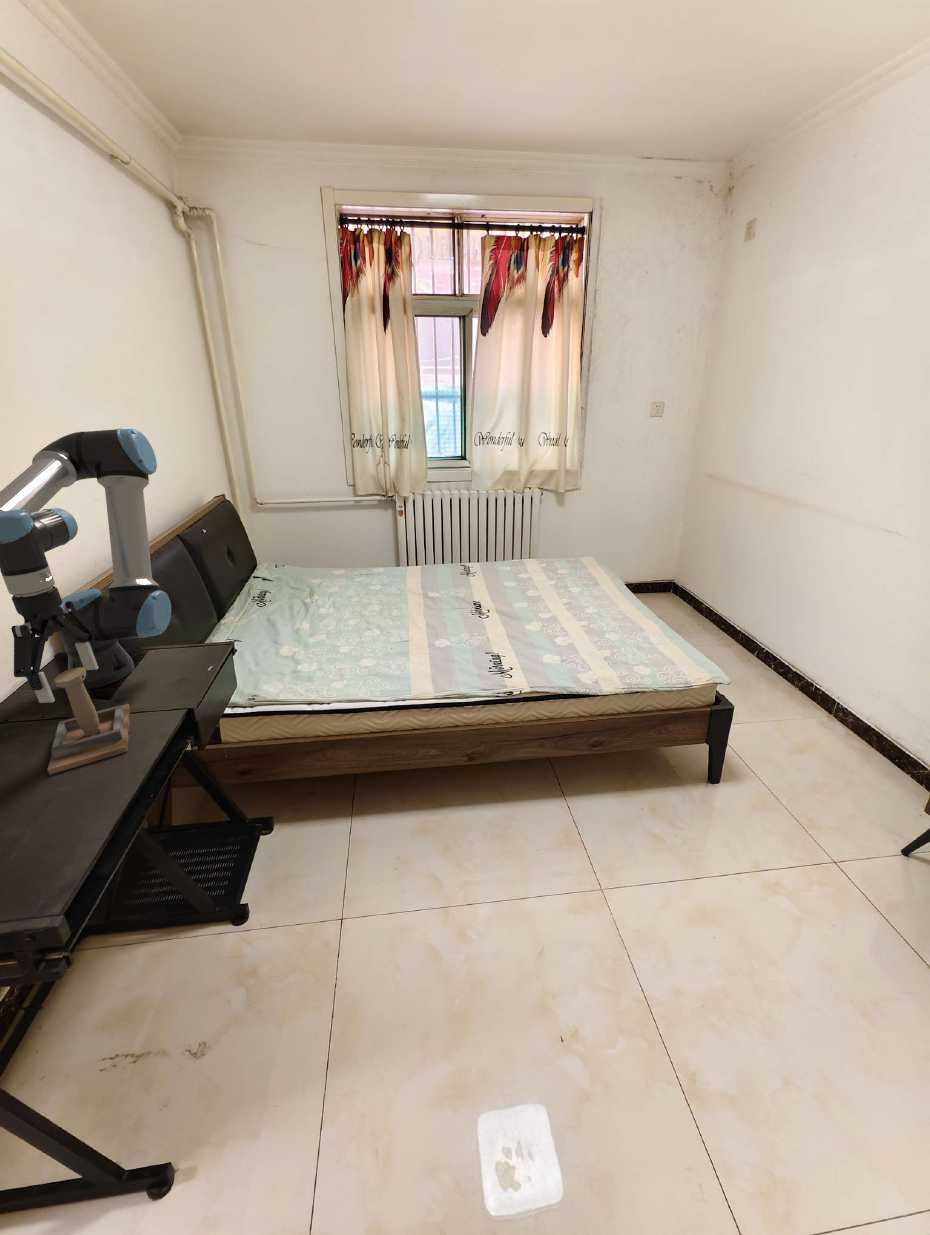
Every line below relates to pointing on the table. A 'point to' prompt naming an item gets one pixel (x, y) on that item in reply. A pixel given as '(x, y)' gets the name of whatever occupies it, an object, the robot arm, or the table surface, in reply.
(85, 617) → the robot arm
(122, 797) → the table surface
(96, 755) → the collar board
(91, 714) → the handle
